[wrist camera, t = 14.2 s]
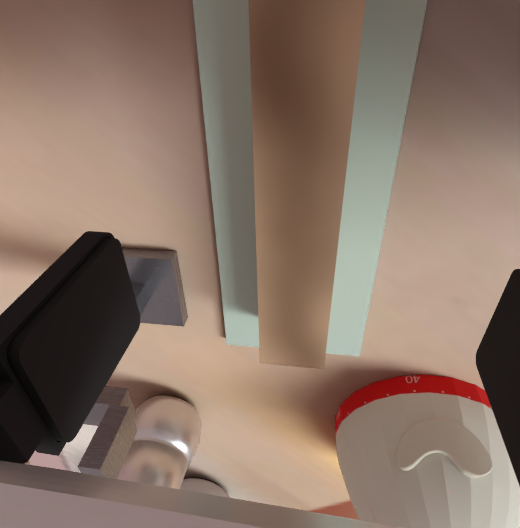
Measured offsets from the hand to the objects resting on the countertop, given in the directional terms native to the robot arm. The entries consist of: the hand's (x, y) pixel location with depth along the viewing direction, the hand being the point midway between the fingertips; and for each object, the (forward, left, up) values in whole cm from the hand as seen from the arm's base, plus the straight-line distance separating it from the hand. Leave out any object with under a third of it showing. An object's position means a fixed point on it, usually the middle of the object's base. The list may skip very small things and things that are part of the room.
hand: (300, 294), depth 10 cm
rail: (0, 0, -13) cm, 13 cm away
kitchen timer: (-10, +25, -14) cm, 30 cm away
